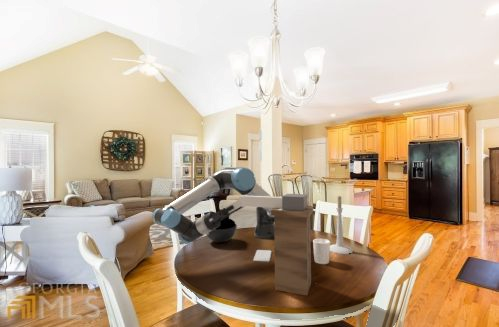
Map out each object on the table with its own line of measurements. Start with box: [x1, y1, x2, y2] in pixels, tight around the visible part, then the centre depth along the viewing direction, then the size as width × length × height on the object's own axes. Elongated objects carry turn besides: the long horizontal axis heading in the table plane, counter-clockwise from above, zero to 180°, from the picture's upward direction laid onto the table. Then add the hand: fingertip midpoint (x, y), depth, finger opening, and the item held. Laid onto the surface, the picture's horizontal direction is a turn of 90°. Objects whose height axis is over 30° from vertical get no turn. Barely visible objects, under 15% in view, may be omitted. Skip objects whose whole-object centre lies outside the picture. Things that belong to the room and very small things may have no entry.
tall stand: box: [271, 206, 314, 296], centre depth 94 cm, size 12×14×30 cm
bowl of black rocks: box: [205, 211, 238, 243], centre depth 151 cm, size 20×20×19 cm
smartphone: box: [252, 249, 273, 263], centre depth 126 cm, size 8×1×15 cm
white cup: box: [312, 238, 331, 265], centre depth 118 cm, size 8×8×10 cm
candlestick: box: [330, 195, 354, 255], centre depth 134 cm, size 13×13×30 cm
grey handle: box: [238, 193, 308, 211], centre depth 98 cm, size 9×27×5 cm, turn 69°
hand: (247, 200), depth 101 cm, fingers open, 13 cm apart
